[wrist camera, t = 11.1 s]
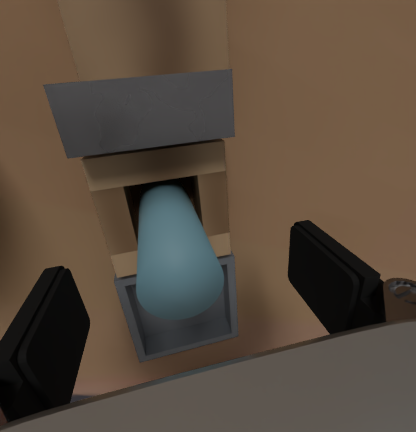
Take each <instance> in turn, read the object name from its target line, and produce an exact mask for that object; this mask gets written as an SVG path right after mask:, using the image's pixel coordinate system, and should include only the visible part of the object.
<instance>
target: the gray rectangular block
mask: <svg viewBox="0 0 416 432" xmlns="http://www.w3.org/2000/svg"><path fill="white" fill-rule="evenodd" d="M43 86H44V89H45V92H46V95H47V98H48V101H49V104H50V107H51V110H52V113H53V116H54V119H55V122H56V125H57V128H58V131H59V134H60V137H61V140H62V143H63V146H64V149H65V152H66V155H67V158H75V157H83V156H90V155H98V154H106V153H113V152H121V151H128V150H136V149H144V148H151V147H159V146H167V145H174V144H182V143H190V142H197V141H205V140H213V139H220V138H228V137H235V132H234V108H233V83H232V69H224V70H212V71H201V72H189V73H177V74H165V75H153V76H141V77H129V78H117V79H105V80H94V81H82V82H70V83H58V84H46V85H43Z"/></svg>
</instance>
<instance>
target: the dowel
mask: <svg viewBox="0 0 416 432" xmlns="http://www.w3.org/2000/svg"><path fill="white" fill-rule="evenodd" d="M223 285H224V273H223V270H222V267H221V265H220V263H219V261H218V259H217V257H216V254H215V252H214V250H213V248H212V246H211V244H210V241H209V239H208V237H207V235H206V233H205V231H204V229H203V226H202V224H201V222H200V220H199V218H198V216H197V213H196V211H195V209H194V207H193V205H192V203H191V200H190V198H189V196H188V194H187V192H186V190H185V188H184V186H183V184H182V183H181V182H180V181H179V180H178V179H176V178H175V179H169V180H162V181H156V182H149V183H145V184H144V185H143V187H142V189H141V191H140V201H139V227H138V252H137V278H136V294H137V298H138V301H139V302H140V304H141V306H142V307H143V308H144V309H145V310H146V311H147V312H149V313H150V314H152V315H154V316H156V317H159V318H162V319H168V320H180V319H186V318H190V317H193V316H196V315H198V314H200V313H202V312H203V311H205V310H207V309H208V308H209V307H210V306H211V305H212V304H213V303H214V302H215V301H216V300H217V299H218V297H219V296H220V294H221V292H222V289H223Z"/></svg>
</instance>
